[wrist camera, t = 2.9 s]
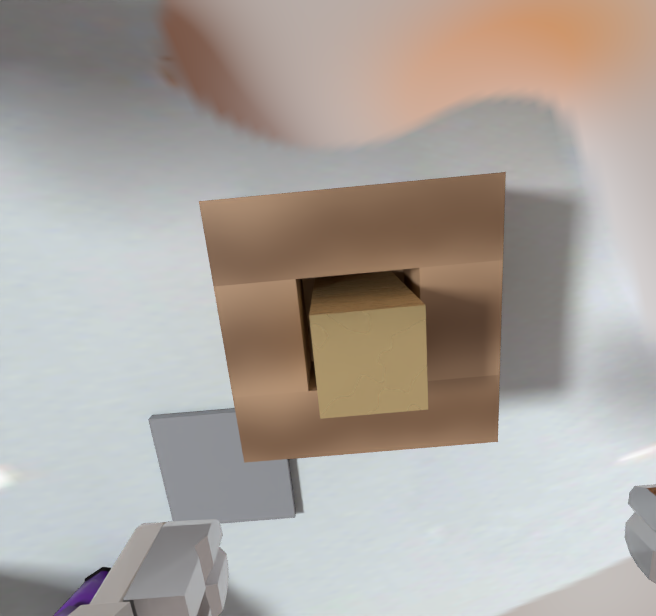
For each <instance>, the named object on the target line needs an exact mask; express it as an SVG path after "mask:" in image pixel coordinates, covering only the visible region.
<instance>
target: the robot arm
mask: <svg viewBox="0 0 656 616" xmlns="http://www.w3.org/2000/svg"><path fill="white" fill-rule="evenodd" d="M628 504H629V506H630V507H631V508H632V509H633V511H634V512H635V513H634V514H633V515H632V516H631V517H630V518H629V520H628V521H627V522H626V526H625V540H626V543H627V546H628V549H629V552H630V554H631V556H632V558H633V559H634V561H635V563H636V564H637V566H638V567H639V568H640V569H641V571H642V572H643V573H644V574H645V575H646V577H647V578H648V579H649V580H651V581H653V582H654V583H656V484H653V485H642V486H634V488H633V489H632V490H631V491H630V493H629V500H628ZM222 536H223V534H222V529H221V525H220V521H218V520H216V519H207V520H188V521H169V522H162V523H143V524H141V525H140V526H139V527H137V528H136V529H135V531H134V532H133V534H132V536H131V537H130V539H129V540H128V542H127V544H126V545H125V547H124V549H123V550H122V552H121V553H120V555H119V557H118V558H117V560H116V562H115V563H114V565H113V567H112V568H111V570H110V571H109V573H108V575H107V576H106V578H105V580H104V581H103V583H102V584H101V586H100V588H99V589H98V591H97V593H96V594H95V596H94V598H93V599H92V601H91V602H90V604H88V605H80V606H79V607H78V608H77V609H75V610H74V611H73V612H72V613H70V614H69V615H68V616H219V615H220V613H221V612H222V611H223V608H224V604H225V600H226V596H227V588H228V578H229V572H228V560H227V554H226V553H225V552H224V551H223V550H222V549H221V548H220V547H219V545H220V542H221V539H222Z"/></svg>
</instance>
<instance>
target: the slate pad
mask: <svg viewBox="0 0 656 616" xmlns="http://www.w3.org/2000/svg"><path fill="white" fill-rule="evenodd" d="M148 420H149V424H150V428H151V433H152V437H153V441H154V445H155V449H156V453H157V457H158V462H159V466H160V470H161V474H162V478H163V482H164V486H165V490H166V495H167V499H168V503H169V507H170V511H171V515H172V519H173V521H188V520H207V519H216V520H218V521H220V523H232V522H245V521H257V520H270V519H282V518H295V514H296V510H295V503H294V496H293V489H292V481H291V474H290V467H289V460H288V459H283V460H271V461H258V462H246V463H244V458H243V453H242V447H241V441H240V435H239V430H238V424H237V418H236V412H235V408H232V409H221V410H209V411H197V412H186V413H174V414H162V415H152V416H151V417H150V418H149V419H148Z"/></svg>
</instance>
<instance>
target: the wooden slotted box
mask: <svg viewBox="0 0 656 616" xmlns="http://www.w3.org/2000/svg"><path fill="white" fill-rule="evenodd" d="M505 173H506V172H501V173H491V174H481V175H470V176H460V177H449V178H439V179H428V180H418V181H407V182H397V183H386V184H376V185H365V186H355V187H344V188H334V189H323V190H313V191H303V192H292V193H282V194H271V195H261V196H250V197H240V198H229V199H219V200H208V201H199V205H200V211H201V216H202V222H203V228H204V234H205V239H206V245H207V251H208V257H209V262H210V268H211V274H212V280H213V285H214V291H215V297H216V303H217V308H218V314H219V320H220V326H221V332H222V337H223V343H224V349H225V355H226V360H227V366H228V372H229V378H230V383H231V389H232V395H233V401H234V406H235V412H236V418H237V424H238V430H239V435H240V441H241V447H242V453H243V458H244V463H246V462H258V461H271V460H283V459H295V458H307V457H319V456H331V455H343V454H355V453H367V452H379V451H391V450H403V449H415V448H427V447H439V446H451V445H463V444H475V443H488V442H498V415H499V380H500V346H501V311H502V277H503V242H504V208H505ZM384 271H391V272H392V273H393V274H394V275H395V276H397V277H398V278H399V279H400V280H401V281H402V282H403V283H404V284H405V285H406V286H407V287H408V288H409V289H410V290H411V291H412V292H413V293H414V294H415V295H416V296H417V297H418V298H419V299H420V300H421V301H422V302H423V303H424V304H425V305H426V343H427V382H428V410H417V411H405V412H393V413H381V414H370V415H358V416H346V417H334V418H322V419H320V411H319V402H318V393H317V384H316V375H315V365H314V356H313V347H312V338H311V329H310V319H309V313H310V306H311V300H312V293H313V286H314V280H315V278H319V277H330V276H341V275H352V274H362V273H373V272H384Z"/></svg>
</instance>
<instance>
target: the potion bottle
mask: <svg viewBox="0 0 656 616" xmlns="http://www.w3.org/2000/svg"><path fill="white" fill-rule="evenodd" d="M110 570H111V568H105V567H102V568H100V569H99V570H97V571H96V572H94V573H93V574H91V575H90V576H88V577H87V578H85V582H84V584H83V585H82V586H81V587H80V588H79V589H78V590H77V591H76V592H75V593H74V594H73V595H72V596H71V597H70V598H69V599H68V601H67V602H66V603H65V604H64V605H63V606H62V607H61V608H60V609H59V610H58V611H57V612H56V613H55V614H54V615H53V616H68V615H69V614H70V613H72V612H73V611H74V610H75V609H77V608H78V607H79V606H80V605H88V604H90V602H91V601H92V599H93V598H94V596H95V594H96V593H97V591H98V589H99V588H100V586H101V584H102V583H103V581H104V580H105V578H106V576H107V575H108V573H109V571H110Z"/></svg>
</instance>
